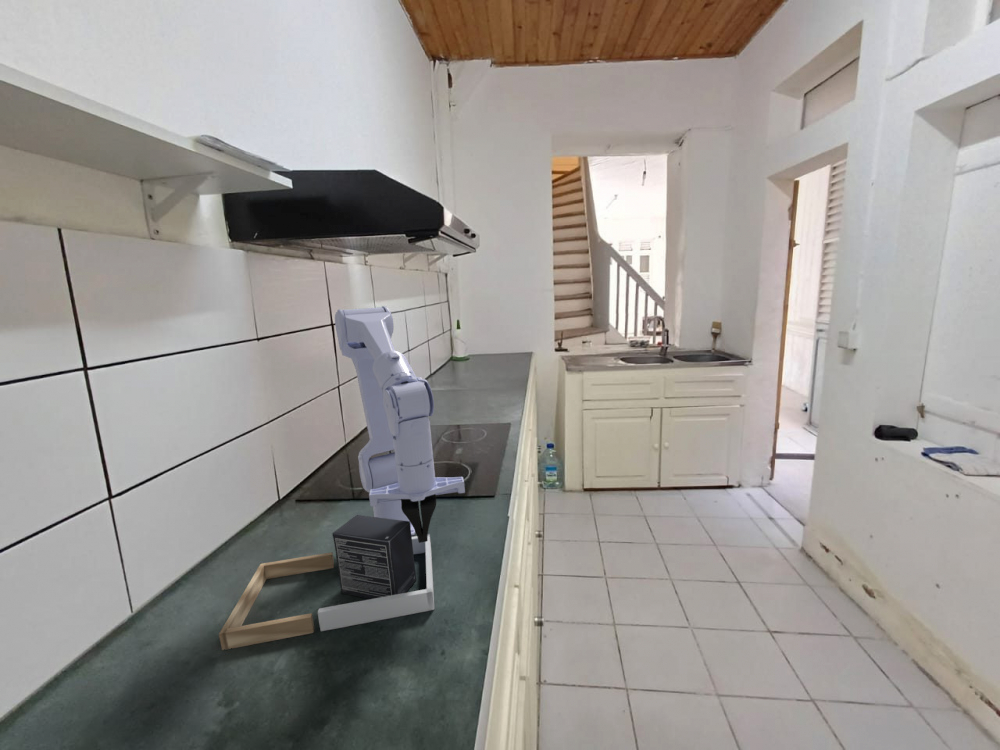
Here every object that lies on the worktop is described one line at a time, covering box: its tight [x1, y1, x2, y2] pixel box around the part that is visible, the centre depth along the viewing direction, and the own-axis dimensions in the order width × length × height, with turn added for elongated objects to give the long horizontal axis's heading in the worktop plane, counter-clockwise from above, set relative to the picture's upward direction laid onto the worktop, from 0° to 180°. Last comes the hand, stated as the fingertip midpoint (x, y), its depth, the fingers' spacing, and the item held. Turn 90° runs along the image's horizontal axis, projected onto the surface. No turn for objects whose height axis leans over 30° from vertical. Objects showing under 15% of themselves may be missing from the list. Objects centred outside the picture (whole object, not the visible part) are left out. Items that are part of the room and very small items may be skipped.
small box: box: [332, 514, 417, 600], centre depth 67 cm, size 11×6×10 cm, turn 71°
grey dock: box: [317, 533, 435, 632], centre depth 68 cm, size 16×16×3 cm
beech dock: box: [218, 551, 335, 651], centre depth 65 cm, size 16×12×2 cm
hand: (423, 538), depth 68 cm, fingers closed
